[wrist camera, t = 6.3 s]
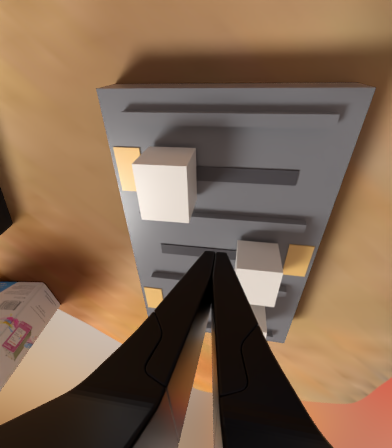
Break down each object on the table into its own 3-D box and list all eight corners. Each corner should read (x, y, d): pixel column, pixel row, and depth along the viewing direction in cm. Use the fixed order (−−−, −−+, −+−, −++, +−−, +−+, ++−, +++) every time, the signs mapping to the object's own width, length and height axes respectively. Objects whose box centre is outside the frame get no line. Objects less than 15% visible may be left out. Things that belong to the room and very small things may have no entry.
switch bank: (357, 82, 14) (381, 88, 12) (281, 322, 28) (284, 348, 25) (114, 83, 16) (91, 89, 14) (156, 305, 30) (148, 328, 28)
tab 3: (264, 302, 22) (267, 332, 20) (259, 324, 24) (261, 354, 22) (231, 298, 23) (230, 327, 20) (229, 320, 25) (227, 349, 22)
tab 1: (195, 147, 15) (186, 166, 13) (196, 198, 17) (189, 223, 15) (149, 146, 15) (131, 164, 13) (155, 196, 17) (141, 219, 15)
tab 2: (278, 243, 18) (283, 273, 16) (270, 276, 20) (274, 307, 18) (237, 240, 19) (236, 268, 16) (234, 272, 21) (232, 302, 18)
